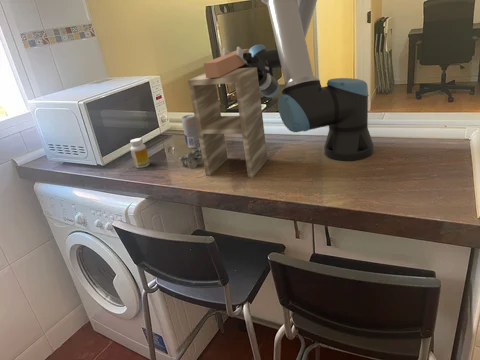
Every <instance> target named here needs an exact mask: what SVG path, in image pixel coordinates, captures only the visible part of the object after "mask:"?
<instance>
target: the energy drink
mask: <svg viewBox="0 0 480 360" xmlns="http://www.w3.org/2000/svg"><path fill="white" fill-rule="evenodd" d="M181 123H182V129H183V133H184V138H185V143H186V147H187V148H188V149H190V150H191V149H193V150H194V149H197V148H198V147H200V142H199V137H198V131H197V126H196V121H195V115H194V114H186V115H184V116H181Z"/></svg>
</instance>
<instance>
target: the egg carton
mask: <svg viewBox="0 0 480 360" xmlns="http://www.w3.org/2000/svg"><path fill="white" fill-rule="evenodd" d="M177 161H180V165H181V167H183V168H186V167H188V169H195V168H198V166H199V165H204V163H203V158H202V152H201V147H200V146H199V147H198V148H195V150H194V149H193V150H192V151H189V152H188V153H187V152H186V153H185V154H182V155H180V156H179V157H178V160H177Z"/></svg>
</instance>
